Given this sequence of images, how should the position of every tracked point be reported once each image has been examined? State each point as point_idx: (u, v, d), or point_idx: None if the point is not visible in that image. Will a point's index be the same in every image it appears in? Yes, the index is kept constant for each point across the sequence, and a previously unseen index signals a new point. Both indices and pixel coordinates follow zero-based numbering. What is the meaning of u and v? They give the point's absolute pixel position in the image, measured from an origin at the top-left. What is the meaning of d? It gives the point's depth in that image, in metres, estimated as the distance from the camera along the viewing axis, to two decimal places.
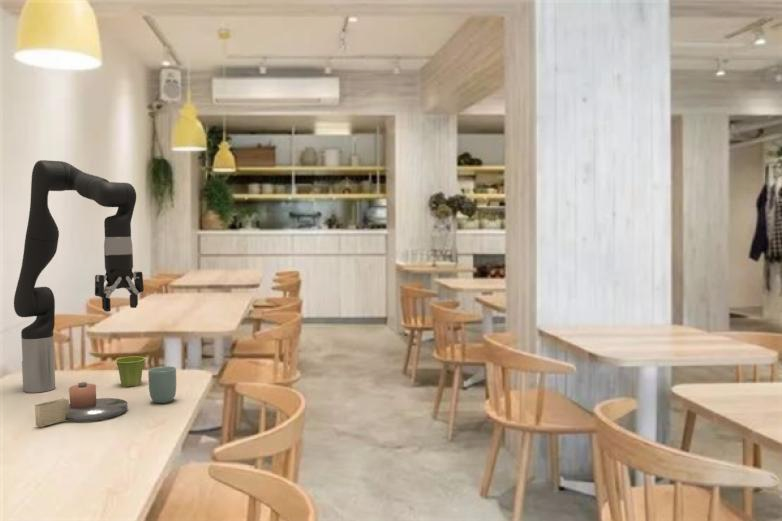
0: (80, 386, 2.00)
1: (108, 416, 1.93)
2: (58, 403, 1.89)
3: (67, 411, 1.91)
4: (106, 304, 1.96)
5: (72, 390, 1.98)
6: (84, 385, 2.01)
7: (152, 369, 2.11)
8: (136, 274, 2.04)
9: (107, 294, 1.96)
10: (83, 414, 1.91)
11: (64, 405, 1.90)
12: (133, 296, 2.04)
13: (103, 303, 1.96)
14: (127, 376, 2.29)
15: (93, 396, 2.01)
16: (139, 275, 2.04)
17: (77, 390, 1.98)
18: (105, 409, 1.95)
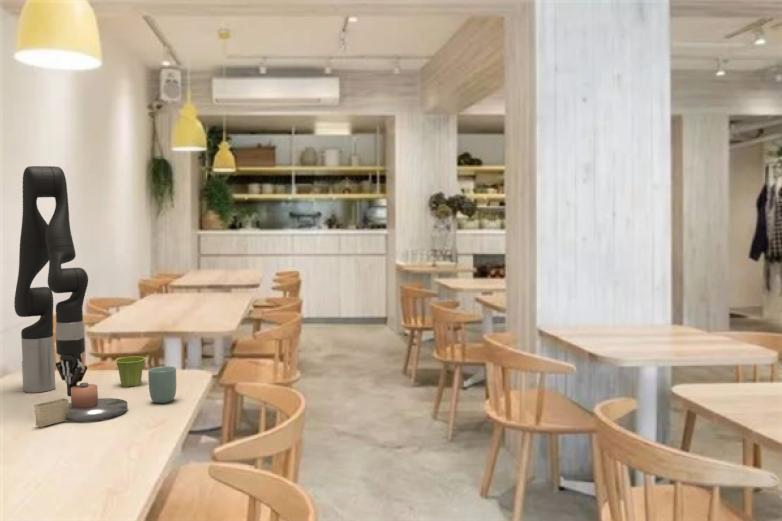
0: (82, 386, 2.00)
1: (108, 416, 1.93)
2: (58, 403, 1.89)
3: (67, 411, 1.91)
4: None
5: (74, 390, 1.98)
6: (86, 385, 2.00)
7: (152, 369, 2.11)
8: None
9: None
10: (83, 414, 1.91)
11: (64, 405, 1.90)
12: None
13: None
14: (127, 376, 2.29)
15: (95, 396, 2.00)
16: None
17: (79, 390, 1.98)
18: (105, 409, 1.95)
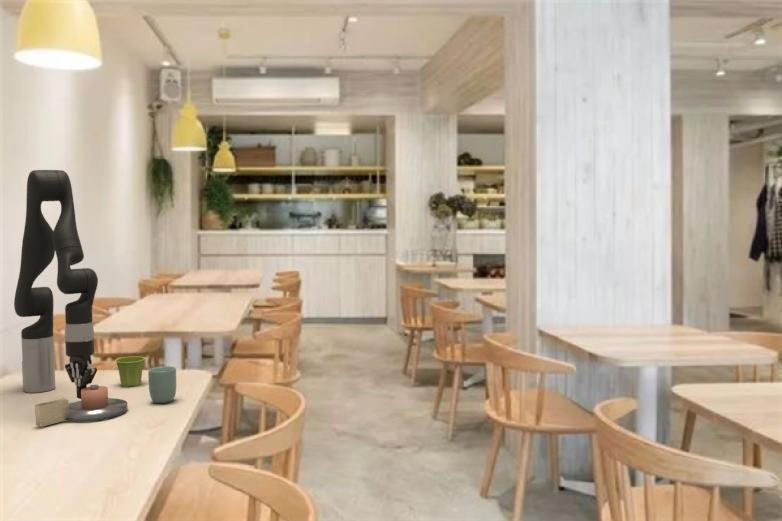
0: (92, 388, 1.97)
1: (108, 416, 1.93)
2: (58, 403, 1.89)
3: (67, 411, 1.91)
4: None
5: (84, 392, 1.95)
6: (96, 387, 1.98)
7: (152, 369, 2.11)
8: None
9: None
10: (83, 414, 1.91)
11: (64, 405, 1.90)
12: None
13: None
14: (127, 376, 2.29)
15: (105, 398, 1.98)
16: None
17: (89, 392, 1.95)
18: (105, 409, 1.95)
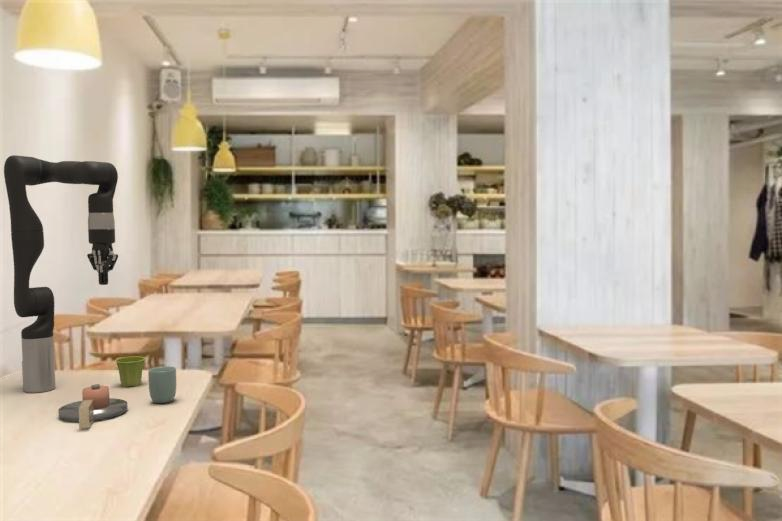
0: (97, 388, 1.98)
1: (126, 409, 2.00)
2: (91, 403, 1.88)
3: (93, 411, 1.91)
4: None
5: (96, 392, 1.96)
6: (99, 386, 1.99)
7: (152, 369, 2.11)
8: None
9: None
10: (110, 410, 1.94)
11: (92, 405, 1.90)
12: None
13: (105, 277, 2.14)
14: (127, 376, 2.29)
15: None
16: None
17: (101, 391, 1.97)
18: (115, 404, 2.00)
